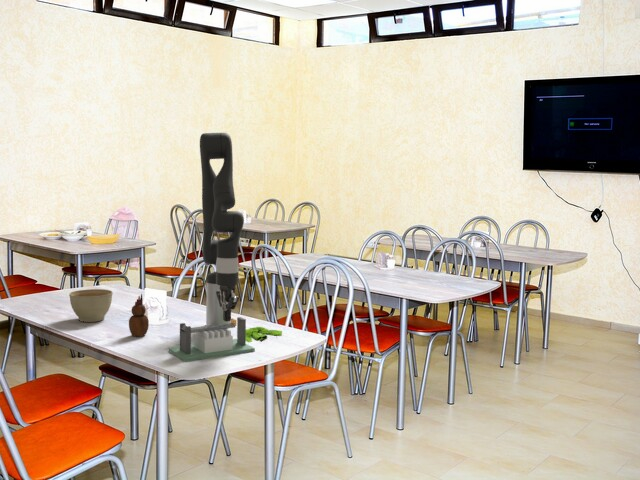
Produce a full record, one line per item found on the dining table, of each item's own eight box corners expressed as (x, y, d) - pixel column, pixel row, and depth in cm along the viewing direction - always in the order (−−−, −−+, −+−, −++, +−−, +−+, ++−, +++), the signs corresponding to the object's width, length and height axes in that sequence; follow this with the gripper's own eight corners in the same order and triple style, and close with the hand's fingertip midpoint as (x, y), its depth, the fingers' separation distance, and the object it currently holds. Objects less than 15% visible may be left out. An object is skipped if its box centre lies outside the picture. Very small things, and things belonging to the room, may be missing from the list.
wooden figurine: (142, 332, 259) (142, 292, 258) (151, 335, 255) (151, 294, 254) (126, 335, 255) (125, 294, 253) (134, 338, 251) (134, 297, 249)
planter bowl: (117, 315, 285) (117, 288, 284) (106, 325, 269) (106, 296, 268) (77, 314, 285) (76, 288, 284) (63, 324, 269) (63, 296, 268)
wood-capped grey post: (184, 333, 229) (184, 326, 229) (180, 331, 232) (180, 324, 232) (236, 327, 240) (236, 320, 239) (232, 325, 242) (232, 318, 242)
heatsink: (168, 350, 236) (168, 321, 235) (236, 341, 250) (236, 313, 249) (184, 361, 225) (184, 330, 223) (254, 351, 238) (255, 322, 237)
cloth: (257, 327, 274) (257, 321, 273) (302, 337, 261) (302, 330, 261) (220, 337, 257) (220, 331, 257) (266, 348, 244) (267, 341, 244)
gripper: (246, 272, 234) (245, 323, 236) (228, 266, 244) (228, 315, 247) (225, 274, 229) (225, 326, 232) (208, 268, 240) (208, 318, 243)
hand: (227, 320), depth 239 cm, fingers closed
